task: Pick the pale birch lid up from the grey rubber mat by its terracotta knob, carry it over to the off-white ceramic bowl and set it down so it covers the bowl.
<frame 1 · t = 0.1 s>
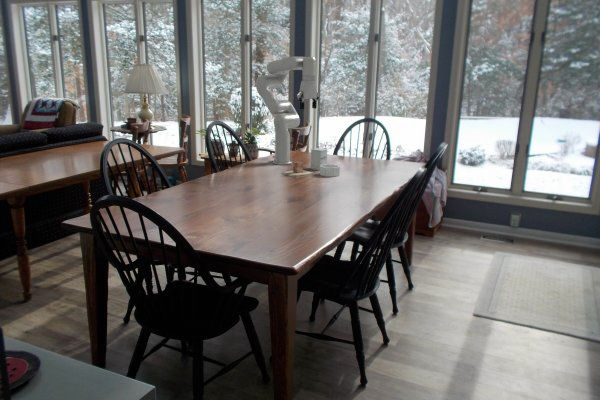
hand: (308, 108, 294), 37 cm above the table, tool pointing down, fingers open, 9 cm apart
bowl: (329, 175, 289), on the table
supplement box: (318, 169, 305), on the table
lid: (298, 168, 288), on the mat
mat: (298, 174, 289), on the table
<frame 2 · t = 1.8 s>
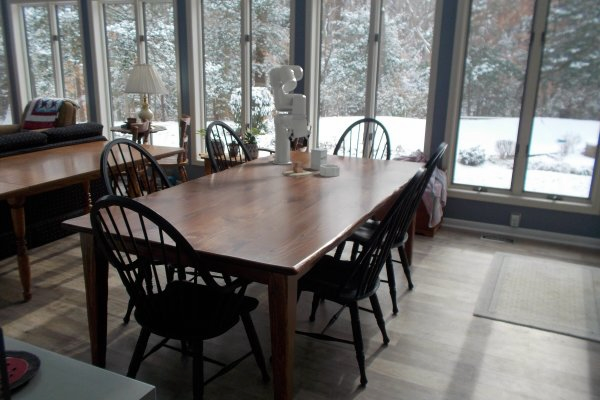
hand: (298, 147, 284), 16 cm above the table, tool pointing down, fingers open, 9 cm apart
nothing on the table moved.
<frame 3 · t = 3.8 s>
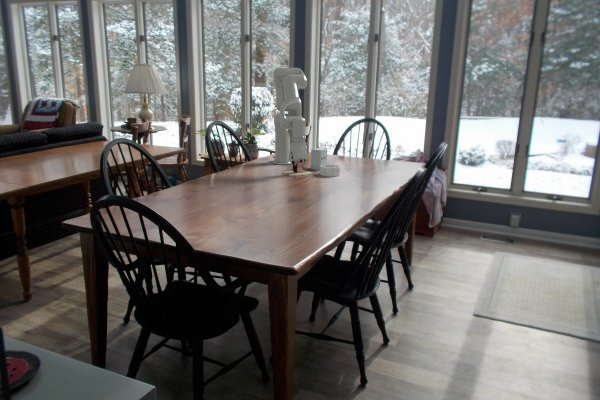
hand: (298, 170, 289), 2 cm above the table, tool pointing down, fingers closed on lid, 4 cm apart
lid: (298, 168, 288), on the mat, touching gripper
everything else where it was.
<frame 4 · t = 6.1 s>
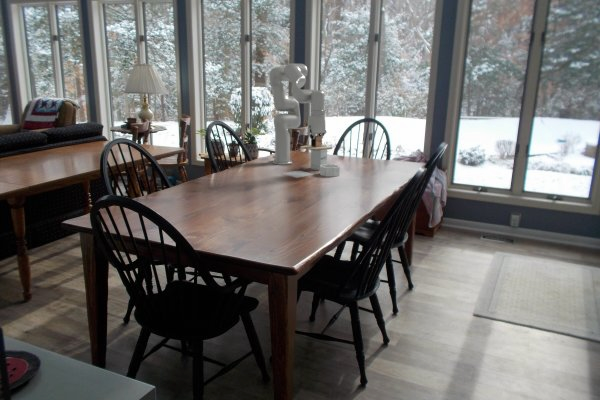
hand: (316, 145, 284), 18 cm above the table, tool pointing down, fingers closed on lid, 4 cm apart
lid: (316, 142, 284), point 19 cm above the table, touching gripper
everything else where it was.
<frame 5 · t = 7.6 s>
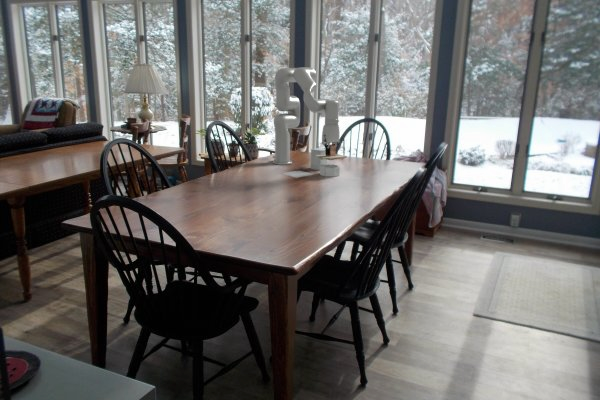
hand: (330, 154, 286), 12 cm above the table, tool pointing down, fingers closed on lid, 4 cm apart
lid: (330, 151, 285), point 14 cm above the table, touching gripper
everything else where it was.
when the fingers open (8 cm above the table, at t = 8.6 s): lid stays where it is, resting on bowl.
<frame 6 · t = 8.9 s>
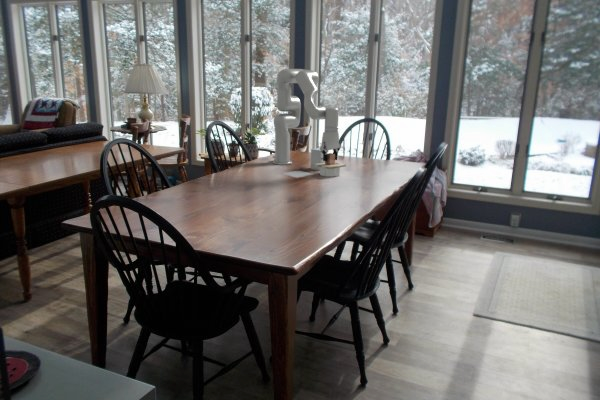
hand: (330, 160, 287), 9 cm above the table, tool pointing down, fingers open, 7 cm apart
lid: (330, 160, 287), on the bowl, point 9 cm above the table
everything else where it was.
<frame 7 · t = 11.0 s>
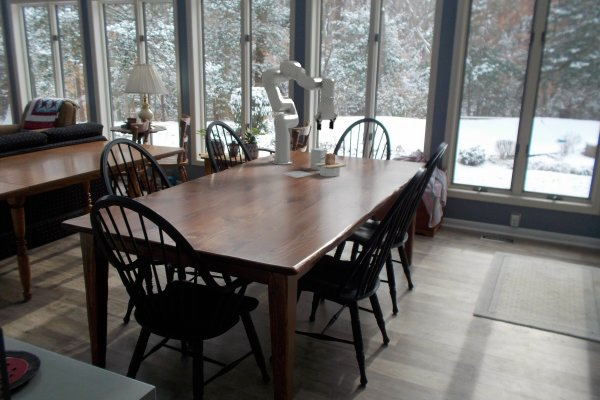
hand: (325, 129, 293), 25 cm above the table, tool pointing down, fingers open, 9 cm apart
nothing on the table moved.
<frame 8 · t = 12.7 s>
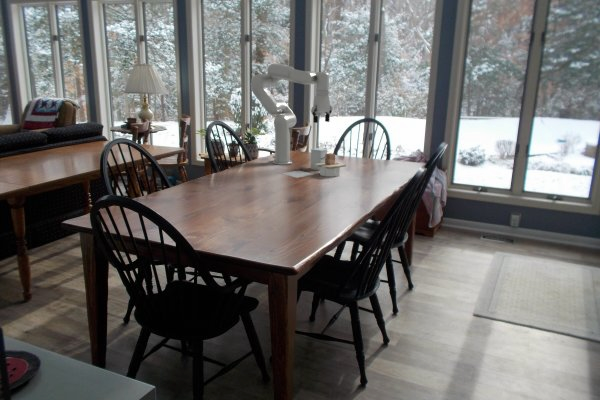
hand: (321, 122, 302), 28 cm above the table, tool pointing down, fingers open, 9 cm apart
nothing on the table moved.
at the end: lid 0.1 cm off-centre on the bowl, point 9.0 cm above the bowl's base; lid tilted 0°; the gripper is holding nothing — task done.
